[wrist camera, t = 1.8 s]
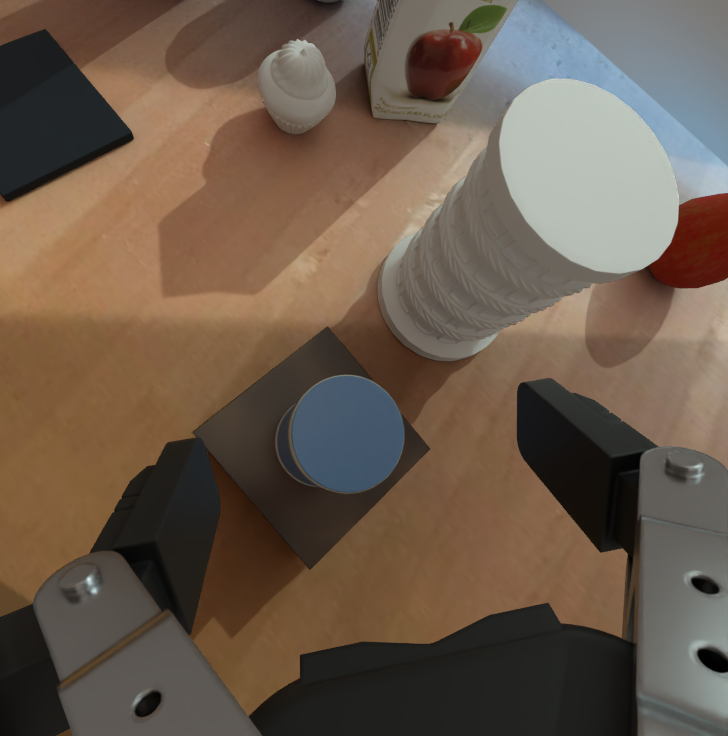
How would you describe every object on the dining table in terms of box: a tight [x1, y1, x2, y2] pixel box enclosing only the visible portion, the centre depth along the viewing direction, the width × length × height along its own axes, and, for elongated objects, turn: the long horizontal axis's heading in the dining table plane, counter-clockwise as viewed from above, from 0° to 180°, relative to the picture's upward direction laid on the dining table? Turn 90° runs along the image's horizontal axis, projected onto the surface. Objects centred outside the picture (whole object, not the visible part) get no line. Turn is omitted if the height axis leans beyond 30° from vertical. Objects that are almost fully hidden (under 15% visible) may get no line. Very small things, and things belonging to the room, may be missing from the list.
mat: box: [0, 29, 134, 201], centre depth 33 cm, size 10×10×1 cm
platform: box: [193, 327, 430, 569], centre depth 32 cm, size 11×11×5 cm
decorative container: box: [377, 79, 679, 361], centre depth 31 cm, size 12×12×18 cm
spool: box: [275, 375, 404, 494], centre depth 26 cm, size 6×6×8 cm
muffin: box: [258, 39, 336, 135], centre depth 36 cm, size 6×6×7 cm
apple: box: [648, 193, 728, 288], centre depth 43 cm, size 8×8×11 cm
